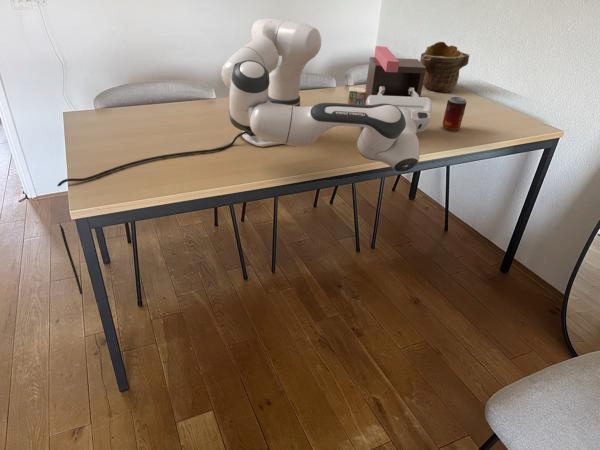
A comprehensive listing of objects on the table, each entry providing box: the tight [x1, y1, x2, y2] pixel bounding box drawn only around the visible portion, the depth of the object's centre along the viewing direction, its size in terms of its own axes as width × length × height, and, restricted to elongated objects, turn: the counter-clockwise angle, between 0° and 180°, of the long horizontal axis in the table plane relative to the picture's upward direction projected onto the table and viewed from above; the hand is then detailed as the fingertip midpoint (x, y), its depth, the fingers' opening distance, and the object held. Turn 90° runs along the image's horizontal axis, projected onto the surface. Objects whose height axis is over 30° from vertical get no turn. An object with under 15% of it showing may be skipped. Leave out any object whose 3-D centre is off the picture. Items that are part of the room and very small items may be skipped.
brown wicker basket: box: [419, 41, 470, 93], centre depth 220 cm, size 23×24×25 cm
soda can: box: [442, 96, 468, 132], centre depth 177 cm, size 7×7×12 cm
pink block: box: [373, 45, 399, 72], centre depth 157 cm, size 22×4×4 cm, turn 2°
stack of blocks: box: [347, 86, 366, 105], centre depth 189 cm, size 21×6×12 cm, turn 84°
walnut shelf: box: [361, 56, 426, 130], centre depth 168 cm, size 12×18×26 cm, turn 92°
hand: (396, 88), depth 143 cm, fingers open, 8 cm apart
